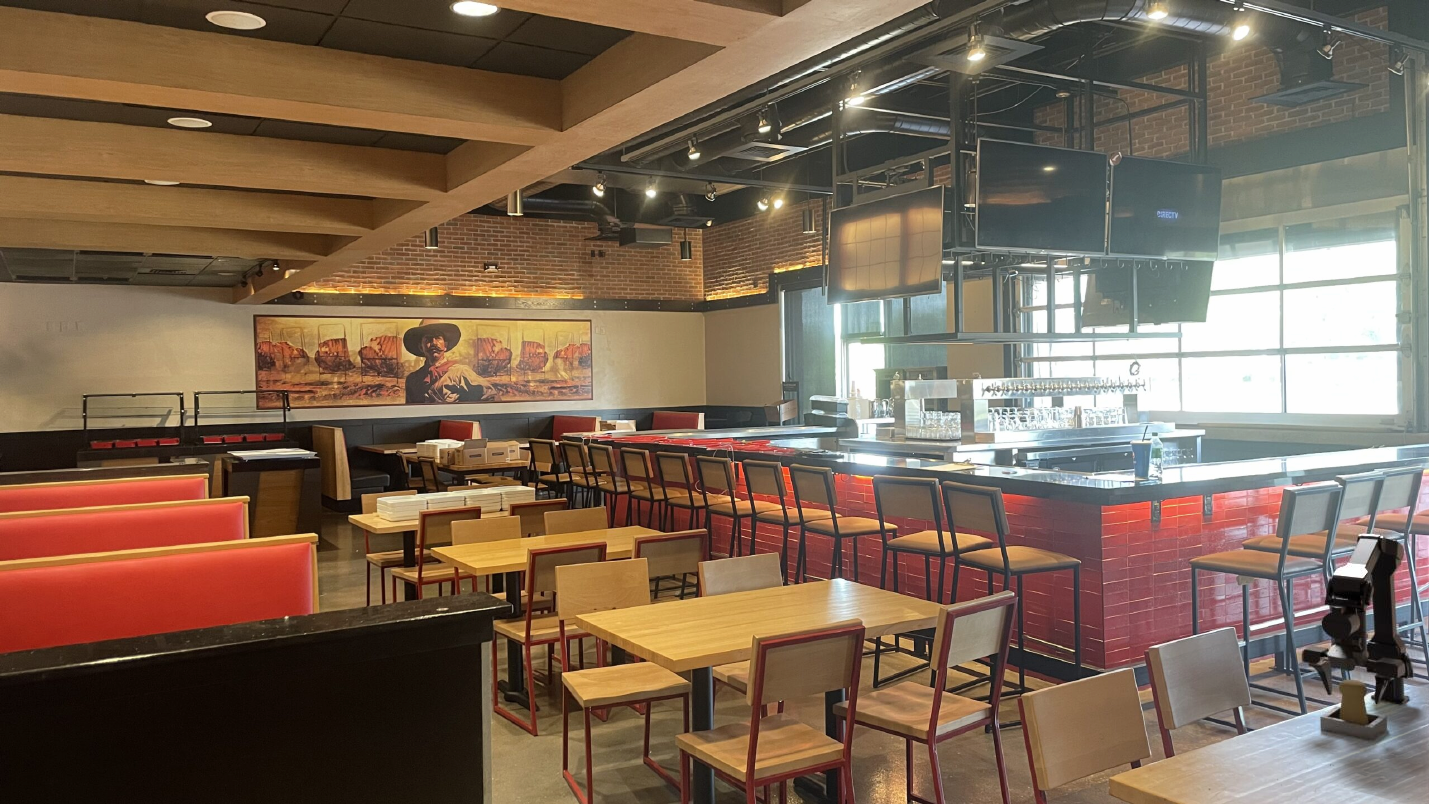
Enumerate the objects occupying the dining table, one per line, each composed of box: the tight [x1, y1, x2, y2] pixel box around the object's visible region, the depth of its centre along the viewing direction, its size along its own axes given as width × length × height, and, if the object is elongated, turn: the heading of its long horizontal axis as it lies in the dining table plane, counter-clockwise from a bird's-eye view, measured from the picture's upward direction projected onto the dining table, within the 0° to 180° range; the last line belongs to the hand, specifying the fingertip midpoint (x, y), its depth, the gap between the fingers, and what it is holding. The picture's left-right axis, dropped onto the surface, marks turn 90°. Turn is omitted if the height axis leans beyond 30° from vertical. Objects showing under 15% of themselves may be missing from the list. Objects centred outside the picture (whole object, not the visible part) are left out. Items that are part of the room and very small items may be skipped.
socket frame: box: [1319, 705, 1388, 742], centre depth 217 cm, size 10×10×3 cm
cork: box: [1338, 679, 1369, 725], centre depth 217 cm, size 6×6×11 cm
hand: (1352, 699), depth 217 cm, fingers open, 9 cm apart
